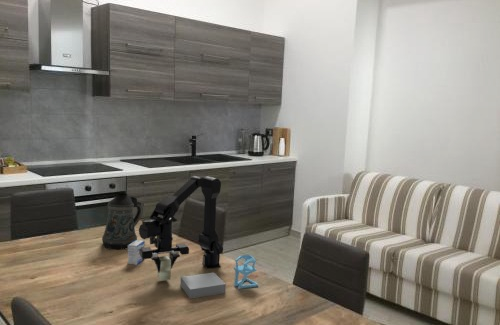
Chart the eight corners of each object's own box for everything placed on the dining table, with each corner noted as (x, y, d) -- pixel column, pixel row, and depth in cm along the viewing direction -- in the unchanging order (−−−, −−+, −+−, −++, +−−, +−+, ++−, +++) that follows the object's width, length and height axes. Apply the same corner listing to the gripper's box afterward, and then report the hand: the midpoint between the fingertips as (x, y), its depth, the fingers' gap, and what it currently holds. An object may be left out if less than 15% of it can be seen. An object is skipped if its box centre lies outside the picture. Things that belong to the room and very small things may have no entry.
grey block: (213, 281, 179) (213, 272, 178) (225, 293, 168) (225, 284, 168) (180, 286, 173) (180, 277, 172) (190, 299, 162) (190, 289, 162)
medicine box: (136, 265, 191) (137, 246, 190) (127, 264, 192) (127, 244, 191) (144, 258, 199) (145, 240, 198) (135, 257, 200) (135, 239, 199)
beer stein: (94, 247, 211) (94, 196, 207) (118, 235, 229) (118, 188, 226) (125, 252, 206) (125, 200, 203) (146, 240, 225) (147, 192, 221)
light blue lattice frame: (230, 284, 176) (231, 255, 175) (246, 279, 182) (247, 251, 180) (242, 291, 170) (243, 261, 169) (258, 286, 176) (259, 257, 174)
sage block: (167, 274, 179) (167, 255, 178) (170, 279, 174) (171, 260, 173) (157, 276, 177) (157, 256, 176) (160, 280, 173) (160, 261, 171)
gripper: (181, 226, 184) (180, 261, 187) (136, 230, 176) (136, 267, 178) (190, 233, 174) (189, 271, 177) (142, 238, 166) (142, 277, 168)
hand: (164, 271), depth 175 cm, fingers closed on sage block, 4 cm apart
